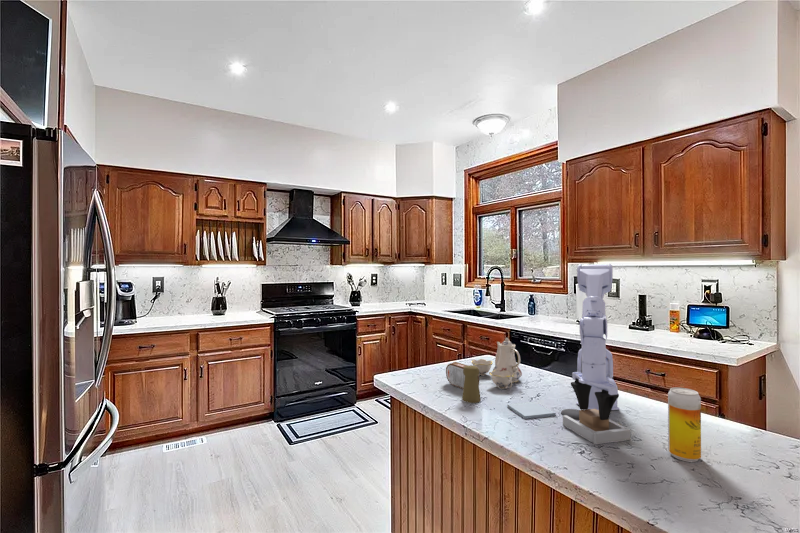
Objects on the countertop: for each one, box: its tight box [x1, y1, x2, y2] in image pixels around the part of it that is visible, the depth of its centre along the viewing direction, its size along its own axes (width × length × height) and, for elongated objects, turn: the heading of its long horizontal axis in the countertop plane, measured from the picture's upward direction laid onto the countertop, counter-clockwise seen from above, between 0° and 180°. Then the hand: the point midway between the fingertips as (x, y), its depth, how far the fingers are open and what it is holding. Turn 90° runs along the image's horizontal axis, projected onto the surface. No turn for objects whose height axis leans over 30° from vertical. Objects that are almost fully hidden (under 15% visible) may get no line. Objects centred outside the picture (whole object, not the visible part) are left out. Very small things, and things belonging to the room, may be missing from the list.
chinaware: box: [471, 337, 523, 390], centre depth 152 cm, size 28×17×17 cm, turn 17°
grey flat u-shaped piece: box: [562, 415, 632, 445], centre depth 104 cm, size 10×12×2 cm
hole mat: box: [560, 408, 580, 421], centre depth 116 cm, size 8×8×1 cm
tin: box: [445, 361, 480, 390], centre depth 143 cm, size 15×3×8 cm, turn 35°
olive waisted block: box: [461, 364, 482, 404], centre depth 130 cm, size 6×6×11 cm
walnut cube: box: [578, 409, 609, 432], centre depth 105 cm, size 5×5×5 cm
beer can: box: [667, 386, 702, 463], centre depth 91 cm, size 6×6×15 cm
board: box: [506, 401, 557, 420], centre depth 119 cm, size 10×10×1 cm
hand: (593, 414), depth 105 cm, fingers open, 7 cm apart
